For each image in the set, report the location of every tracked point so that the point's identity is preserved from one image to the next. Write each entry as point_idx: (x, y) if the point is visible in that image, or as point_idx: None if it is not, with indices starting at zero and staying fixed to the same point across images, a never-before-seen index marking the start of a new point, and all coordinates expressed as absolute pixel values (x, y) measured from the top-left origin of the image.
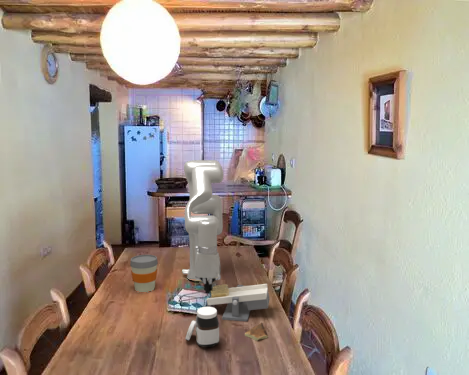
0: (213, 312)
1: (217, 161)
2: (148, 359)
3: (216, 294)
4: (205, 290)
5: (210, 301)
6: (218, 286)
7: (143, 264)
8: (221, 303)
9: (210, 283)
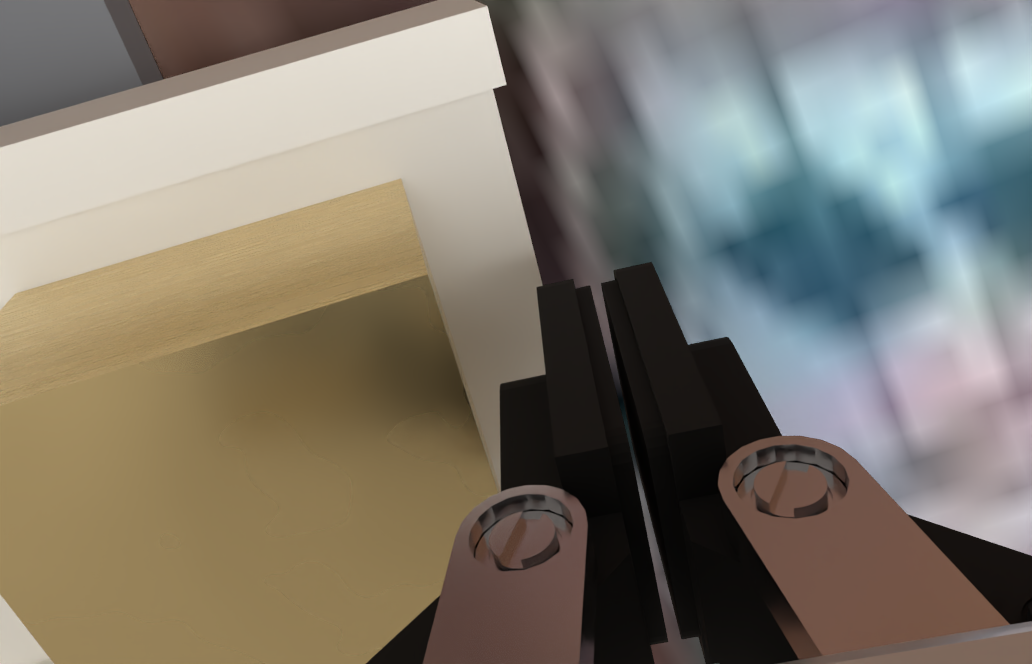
0: None
1: None
2: None
3: (259, 272)
4: (661, 297)
5: (374, 26)
6: (346, 601)
7: None
8: (88, 102)
9: (500, 522)
